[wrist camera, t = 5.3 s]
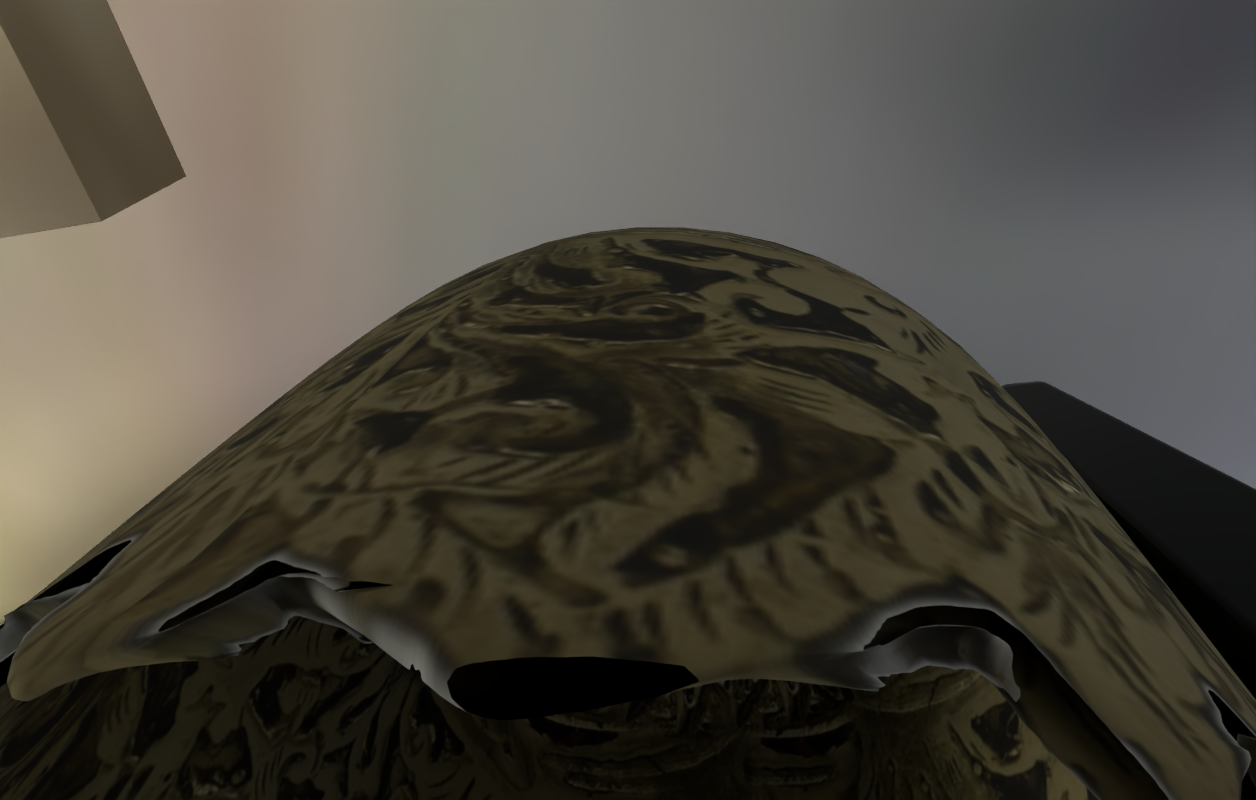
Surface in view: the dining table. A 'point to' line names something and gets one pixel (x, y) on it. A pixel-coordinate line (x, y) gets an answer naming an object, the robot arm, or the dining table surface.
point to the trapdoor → (73, 119)
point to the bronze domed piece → (626, 570)
